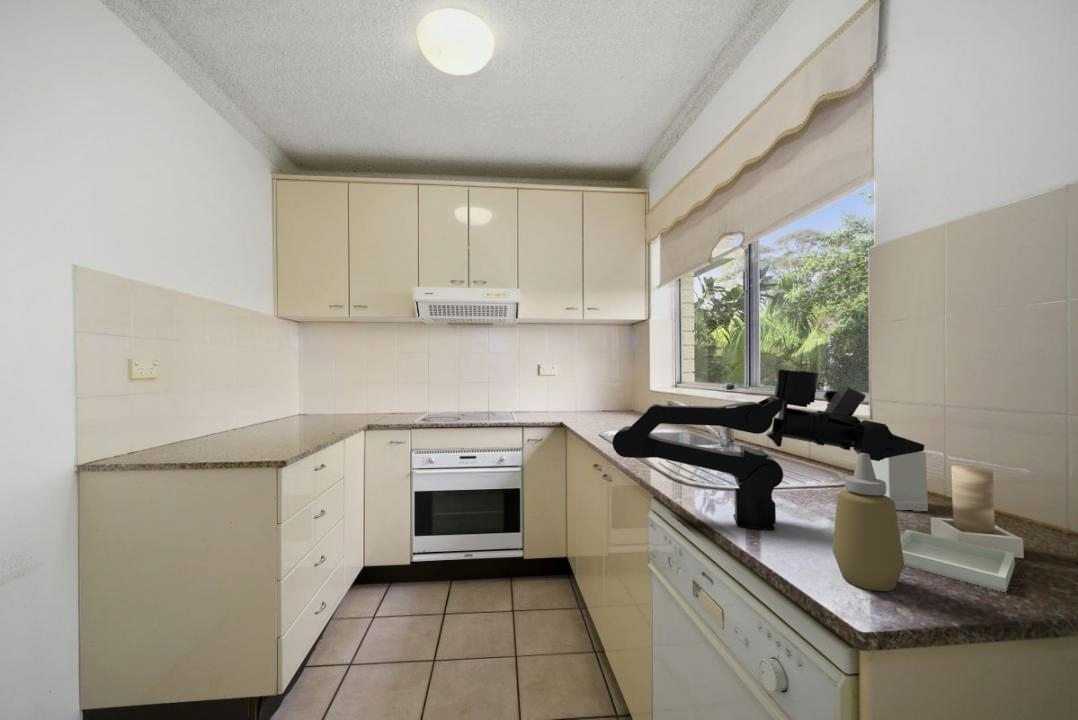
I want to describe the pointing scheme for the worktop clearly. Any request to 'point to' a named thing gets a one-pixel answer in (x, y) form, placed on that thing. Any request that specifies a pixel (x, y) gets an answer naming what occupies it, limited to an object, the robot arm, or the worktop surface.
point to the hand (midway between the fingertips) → (909, 443)
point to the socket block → (979, 537)
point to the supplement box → (904, 480)
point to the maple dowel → (973, 499)
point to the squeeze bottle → (867, 531)
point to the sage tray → (958, 560)
